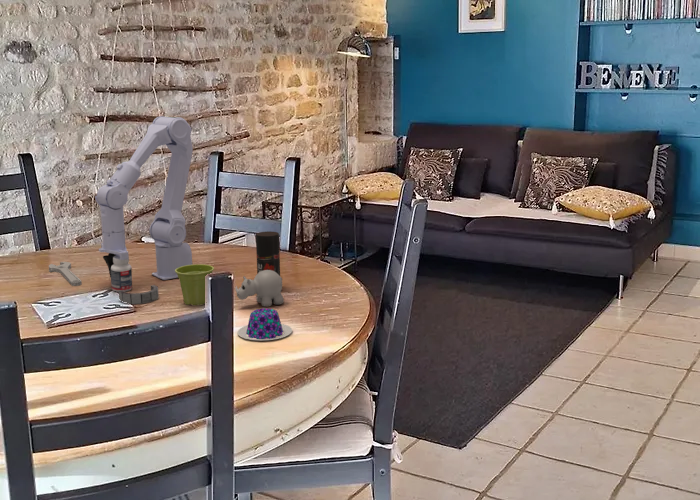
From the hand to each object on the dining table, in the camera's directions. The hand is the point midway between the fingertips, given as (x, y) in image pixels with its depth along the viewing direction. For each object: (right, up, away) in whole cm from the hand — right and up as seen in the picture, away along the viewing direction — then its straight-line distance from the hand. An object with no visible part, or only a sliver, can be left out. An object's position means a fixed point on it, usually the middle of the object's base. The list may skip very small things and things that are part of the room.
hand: (116, 281), depth 211 cm
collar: (+10, -4, -11) cm, 16 cm away
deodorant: (+41, -2, -3) cm, 41 cm away
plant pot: (+24, -5, -14) cm, 28 cm away
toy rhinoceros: (+40, -5, -16) cm, 44 cm away
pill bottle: (+2, -2, -2) cm, 4 cm away
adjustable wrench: (-18, 0, +13) cm, 23 cm away
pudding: (+44, -10, -37) cm, 58 cm away
